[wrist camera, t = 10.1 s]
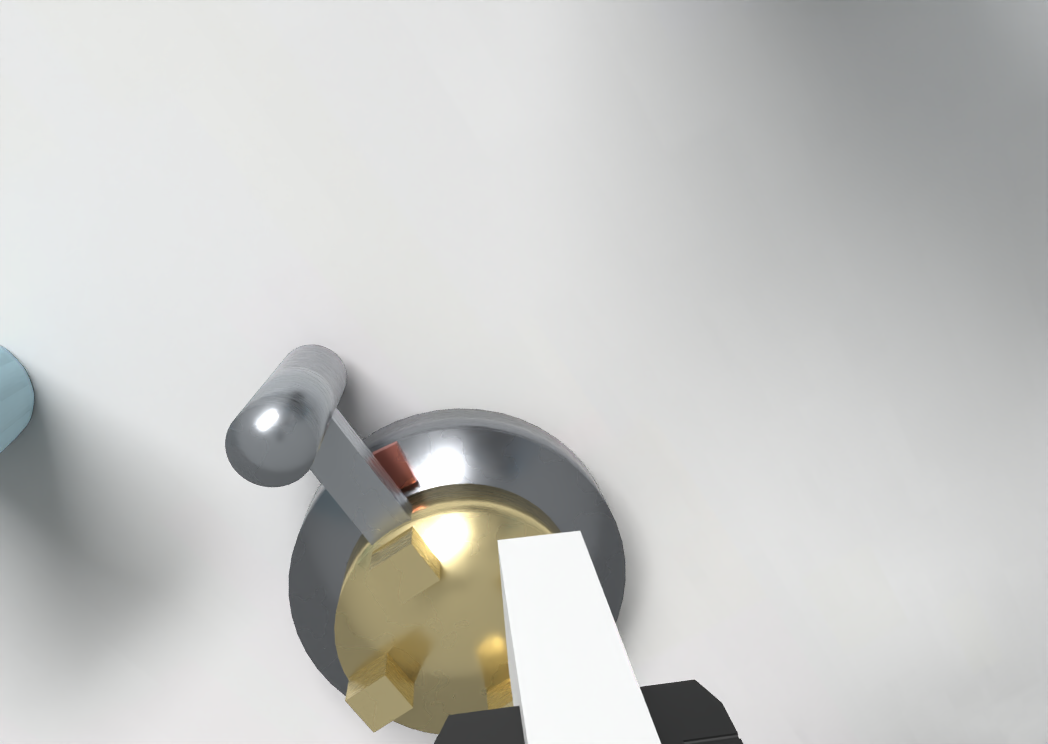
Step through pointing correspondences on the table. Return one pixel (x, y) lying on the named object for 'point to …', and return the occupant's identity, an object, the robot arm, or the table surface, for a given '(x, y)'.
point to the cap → (441, 459)
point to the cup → (13, 398)
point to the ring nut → (393, 554)
